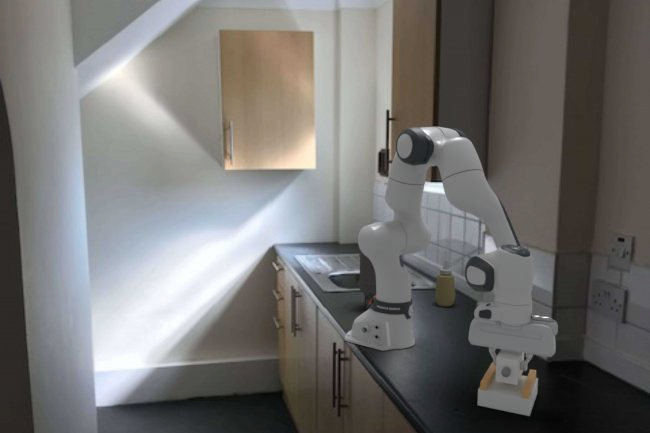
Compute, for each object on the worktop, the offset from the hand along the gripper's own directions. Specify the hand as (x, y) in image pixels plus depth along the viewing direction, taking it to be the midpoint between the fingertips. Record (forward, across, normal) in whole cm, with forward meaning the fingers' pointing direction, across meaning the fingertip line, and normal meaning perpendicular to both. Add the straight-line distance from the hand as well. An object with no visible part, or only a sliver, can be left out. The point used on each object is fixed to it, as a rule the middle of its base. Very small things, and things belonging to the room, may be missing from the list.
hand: (509, 367), depth 140 cm
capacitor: (+8, +59, -59) cm, 84 cm away
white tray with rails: (+8, 0, 0) cm, 8 cm away
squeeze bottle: (+8, +37, -77) cm, 86 cm away
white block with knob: (+2, 0, 0) cm, 2 cm away
